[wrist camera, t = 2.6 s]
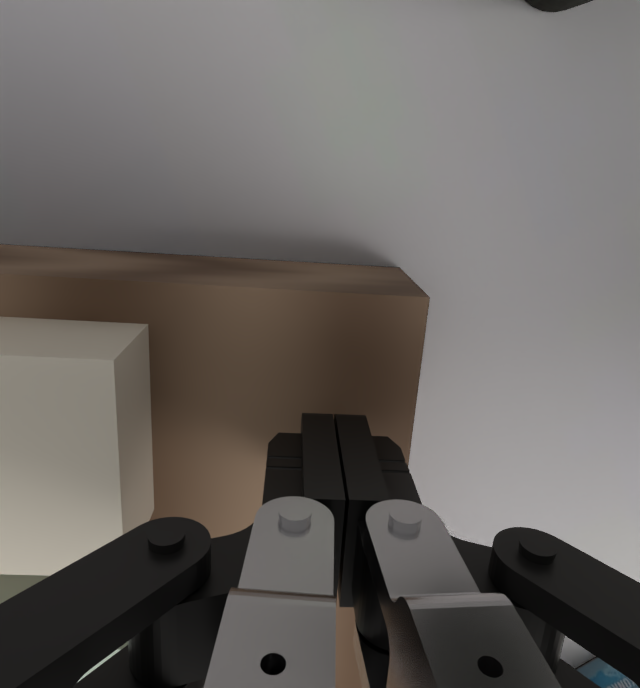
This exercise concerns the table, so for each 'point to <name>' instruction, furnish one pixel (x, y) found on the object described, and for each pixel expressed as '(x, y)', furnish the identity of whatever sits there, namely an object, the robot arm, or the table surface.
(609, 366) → the table surface
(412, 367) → the walnut board
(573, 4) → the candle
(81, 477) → the cream tile
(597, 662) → the juice carton
